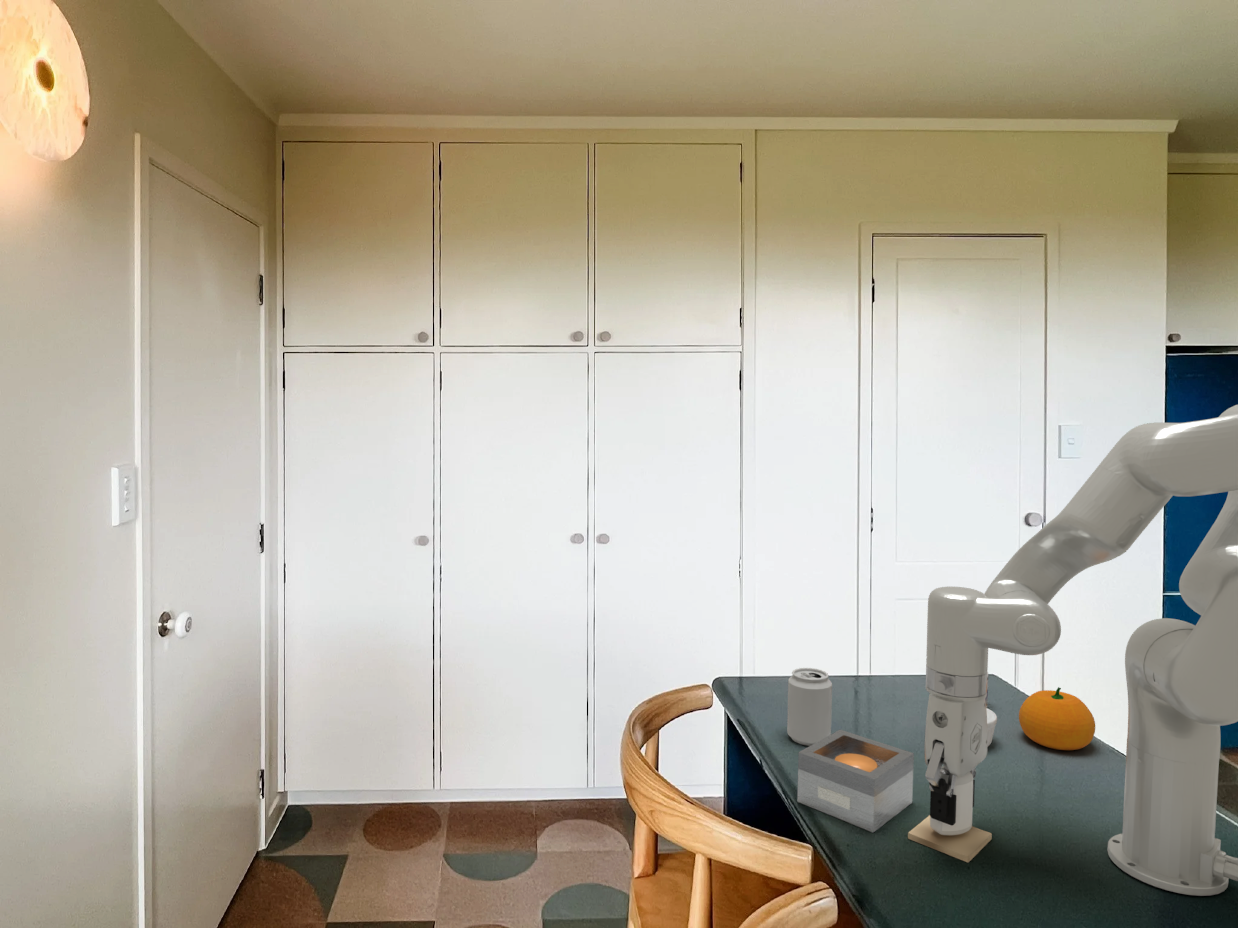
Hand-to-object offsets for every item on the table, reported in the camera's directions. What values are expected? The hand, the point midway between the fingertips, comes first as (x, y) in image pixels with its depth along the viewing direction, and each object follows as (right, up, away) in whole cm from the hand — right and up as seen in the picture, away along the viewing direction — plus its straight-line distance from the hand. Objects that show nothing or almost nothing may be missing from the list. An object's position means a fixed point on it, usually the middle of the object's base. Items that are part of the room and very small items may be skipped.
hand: (952, 811), depth 106 cm
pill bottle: (+25, -1, +49) cm, 55 cm away
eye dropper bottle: (0, -3, 0) cm, 3 cm away
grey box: (-10, -3, +10) cm, 15 cm away
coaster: (0, -4, 0) cm, 4 cm away
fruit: (+32, -2, +32) cm, 45 cm away
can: (-11, -2, +33) cm, 35 cm away
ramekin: (+15, -2, +33) cm, 36 cm away
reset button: (-10, -3, +10) cm, 15 cm away
